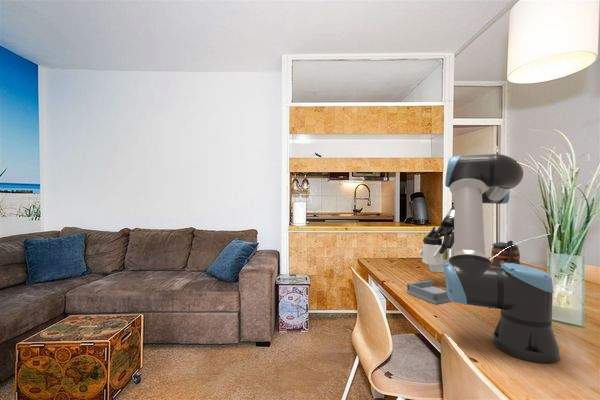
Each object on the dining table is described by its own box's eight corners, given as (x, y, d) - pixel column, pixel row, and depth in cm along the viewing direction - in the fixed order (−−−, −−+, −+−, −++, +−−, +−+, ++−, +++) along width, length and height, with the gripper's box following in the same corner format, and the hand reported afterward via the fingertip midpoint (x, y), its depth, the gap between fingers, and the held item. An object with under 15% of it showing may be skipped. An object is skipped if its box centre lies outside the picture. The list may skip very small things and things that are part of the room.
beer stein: (530, 282, 151) (531, 242, 151) (497, 279, 155) (498, 240, 155) (515, 272, 169) (515, 236, 169) (485, 270, 173) (486, 235, 173)
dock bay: (459, 299, 126) (459, 289, 126) (435, 304, 120) (435, 294, 120) (430, 288, 140) (430, 280, 140) (407, 293, 134) (407, 284, 134)
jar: (434, 266, 140) (435, 240, 140) (419, 262, 147) (419, 237, 147) (445, 263, 145) (446, 238, 145) (430, 260, 152) (430, 236, 152)
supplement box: (430, 271, 170) (430, 241, 169) (428, 267, 179) (428, 239, 178) (449, 273, 167) (449, 242, 167) (446, 269, 176) (446, 240, 175)
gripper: (475, 228, 143) (450, 266, 136) (438, 224, 161) (415, 257, 155) (467, 217, 140) (442, 255, 134) (431, 214, 159) (407, 247, 152)
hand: (427, 256), depth 144 cm, fingers closed on jar, 8 cm apart
